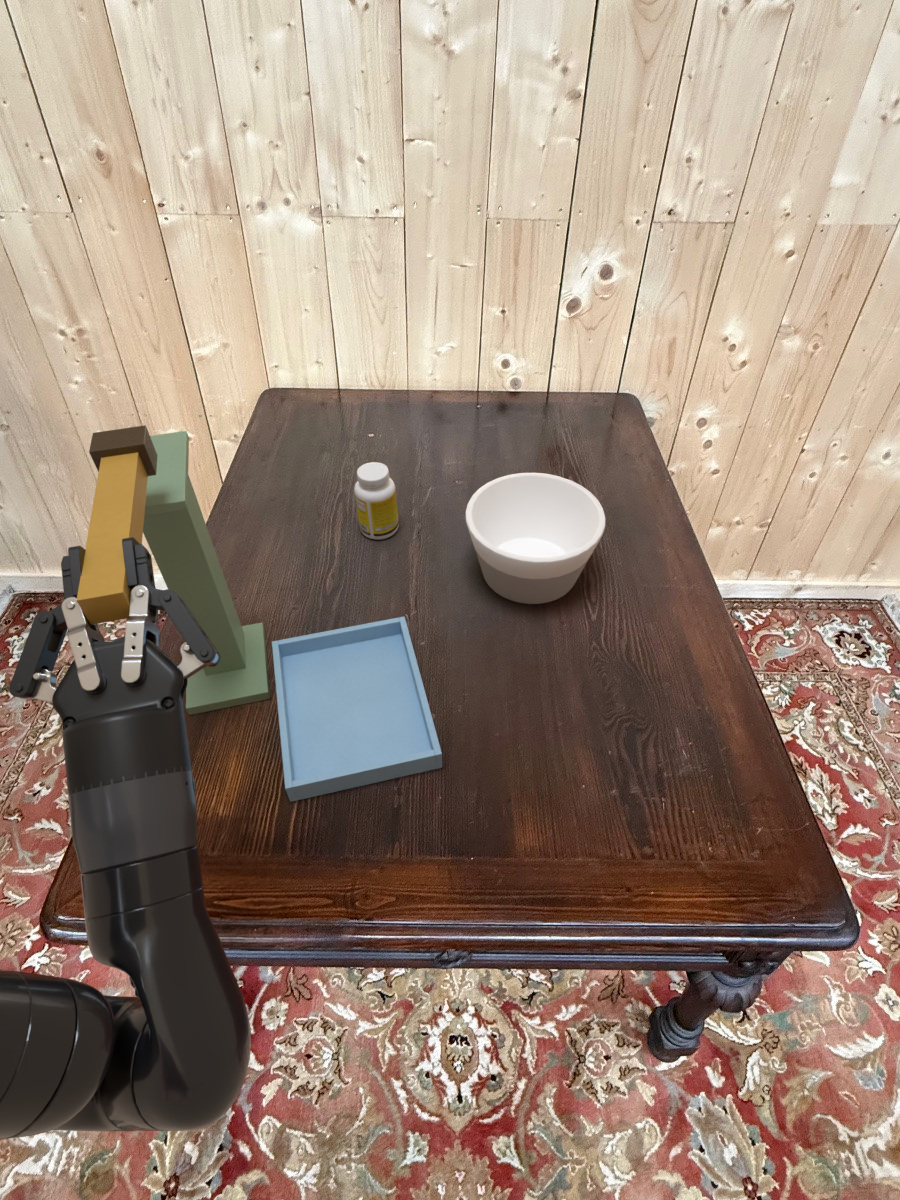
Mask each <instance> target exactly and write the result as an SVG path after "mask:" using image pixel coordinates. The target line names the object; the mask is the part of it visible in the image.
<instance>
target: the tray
mask: <svg viewBox="0 0 900 1200" xmlns="http://www.w3.org/2000/svg"><path fill="white" fill-rule="evenodd" d="M271 646H272V648H271V650H272V659H273V669H274V683H275V691H276V705H277V714H278V726H279V736H280V737H279V738H280V746H281V758H282V759H281V760H282V767H283V768H282V770H283V771H282V772H283V781H284V790H285V792H286V795H287V797H288V801H289V802H290V803H292V802H296V801H301V800H305V799H311V798H314V797H318V796H324V795H328V794H332V793H336V792H340V791H345V790H349V789H354V788H359V787H363V786H367V785H371V784H376V783H380V782H385V781H389V780H394V779H399V778H403V777H407V776H411V775H417V774H420V773H425V772H430V771H434V770H439V769H442V768H443V753H442V748H441V745H440V742H439V738H438V733H437V730H436V727H435V723H434V719H433V716H432V711H431V709H430V708H431V707H430V705H429V701H428V698H427V694H426V690H425V686H424V683H423V679H422V676H421V671H420V668H419V664H418V661H417V656H416V654H415V650H414V646H413V642H412V639H411V636H410V631H409V628H408V624H407V620H406V617H405V616H399V617H394V618H388V619H383V620H377V621H372V622H368V623H362V624H357V625H351V626H347V627H341V628H336V629H331V630H330V629H329V630H325V631H321V632H315V633H310V634H304V635H300V636H293V637H288V638H283V639H277V640H273V641H272V640H271Z"/></svg>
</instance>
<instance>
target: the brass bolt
mask: <svg viewBox="0 0 900 1200" xmlns="http://www.w3.org/2000/svg"><path fill="white" fill-rule="evenodd" d="M150 436H151V435H150V431H149V430H148V427H147V425H144V424H143V425H138V426H131V427H123V428H117V429H110V430H101V431H97V432H96V431H95V432H92V436H91V440H90V444H89V445H90V446H89V449H88V450H89V451H88V453H89V455H90V458H91V459H92V461H93V464H94V466H95V469H96V471H97V472H98V474H97V480H96V484H95V490H94V497H93V503H92V507H91V508H92V509H91V514H90V519H89V526H88V531H87V538H86V542H85V548H84V549H85V550H86V551H85V557H84V563H83V569H82V574H81V577H80V583H79V589H78V594H77V600H76V601H77V602H78V604H79V606H80V607H81V609H82V611H83V612H84V614H85V616H86V617H87V619H88V621H89V622H90V624H91V625H93V624H103V623H104V624H105V623H109V622H113V621H114V622H115V621H119V620H127V618H128V617H129V609H130V594H131V590H132V589H131V588H129V587H128V584H127V576H126V569H125V564H124V555H123V547H122V539H124V538H131V537H134V538H135V539H136V540H137V541H138V542H139V544H142V545H143V537H144V534H143V525H144V514H145V503H146V492H147V481H148V476H152V475H156V470H157V457H158V455H157V453H156V450H155V448H154V445H153V443H152V440H151V437H150Z"/></svg>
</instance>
